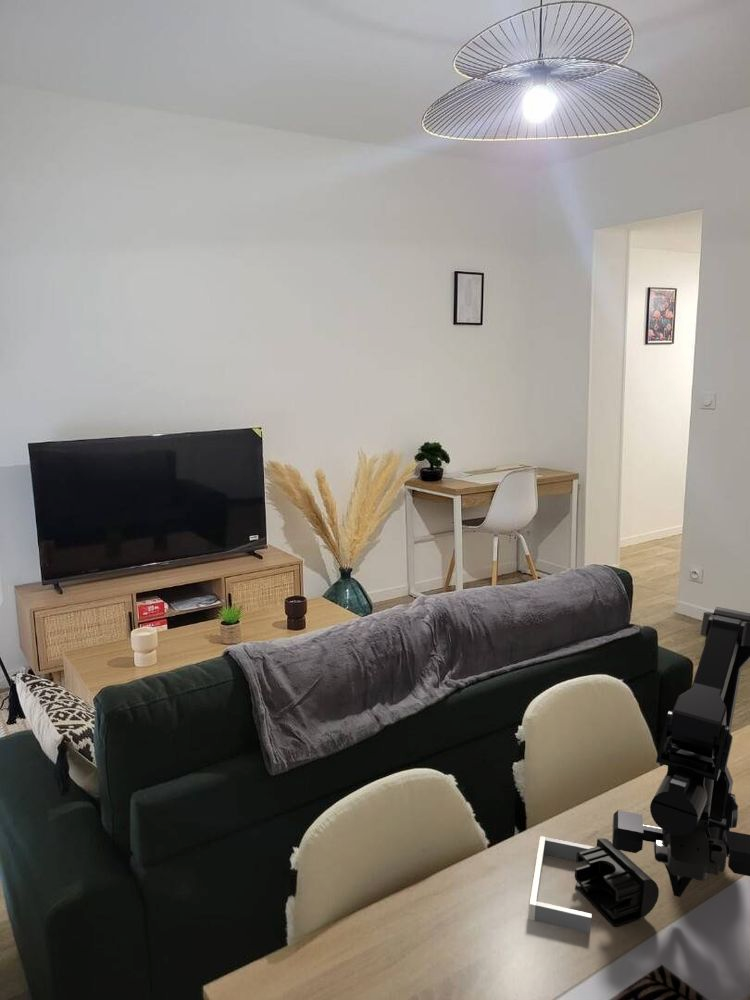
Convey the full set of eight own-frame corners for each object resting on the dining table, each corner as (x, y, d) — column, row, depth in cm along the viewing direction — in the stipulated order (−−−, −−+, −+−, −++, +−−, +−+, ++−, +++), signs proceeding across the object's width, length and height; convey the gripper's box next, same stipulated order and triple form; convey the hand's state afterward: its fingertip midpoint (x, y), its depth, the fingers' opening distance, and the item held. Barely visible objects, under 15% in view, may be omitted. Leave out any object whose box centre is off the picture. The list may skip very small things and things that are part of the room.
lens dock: (593, 861, 120) (594, 847, 120) (590, 933, 106) (591, 917, 105) (539, 849, 123) (540, 835, 122) (528, 919, 108) (529, 903, 108)
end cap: (657, 917, 109) (661, 875, 108) (616, 931, 106) (621, 888, 105) (609, 872, 118) (613, 833, 117) (571, 884, 115) (575, 844, 114)
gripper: (617, 816, 101) (607, 919, 104) (775, 846, 96) (758, 953, 99) (617, 771, 111) (608, 866, 115) (759, 796, 106) (745, 895, 109)
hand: (676, 894), depth 109 cm, fingers closed
